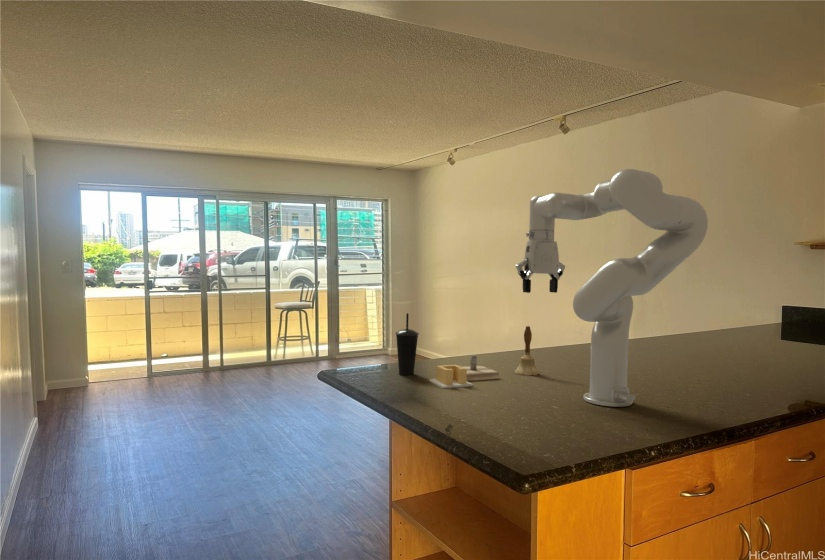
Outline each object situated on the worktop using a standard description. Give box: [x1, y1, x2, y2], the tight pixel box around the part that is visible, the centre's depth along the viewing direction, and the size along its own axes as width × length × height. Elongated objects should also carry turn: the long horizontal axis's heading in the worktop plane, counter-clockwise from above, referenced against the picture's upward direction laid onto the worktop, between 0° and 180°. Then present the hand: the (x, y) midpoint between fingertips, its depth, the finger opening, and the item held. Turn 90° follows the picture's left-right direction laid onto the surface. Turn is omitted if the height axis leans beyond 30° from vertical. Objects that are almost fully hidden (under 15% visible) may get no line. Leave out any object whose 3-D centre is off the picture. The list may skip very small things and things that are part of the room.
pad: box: [428, 378, 474, 389], centre depth 165 cm, size 10×10×1 cm
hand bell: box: [514, 325, 540, 376], centre depth 183 cm, size 8×8×16 cm
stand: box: [462, 354, 499, 382], centre depth 177 cm, size 12×12×7 cm
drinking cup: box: [395, 313, 420, 376], centre depth 178 cm, size 8×8×20 cm
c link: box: [435, 364, 468, 385], centre depth 165 cm, size 7×7×4 cm
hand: (540, 292), depth 166 cm, fingers open, 9 cm apart
